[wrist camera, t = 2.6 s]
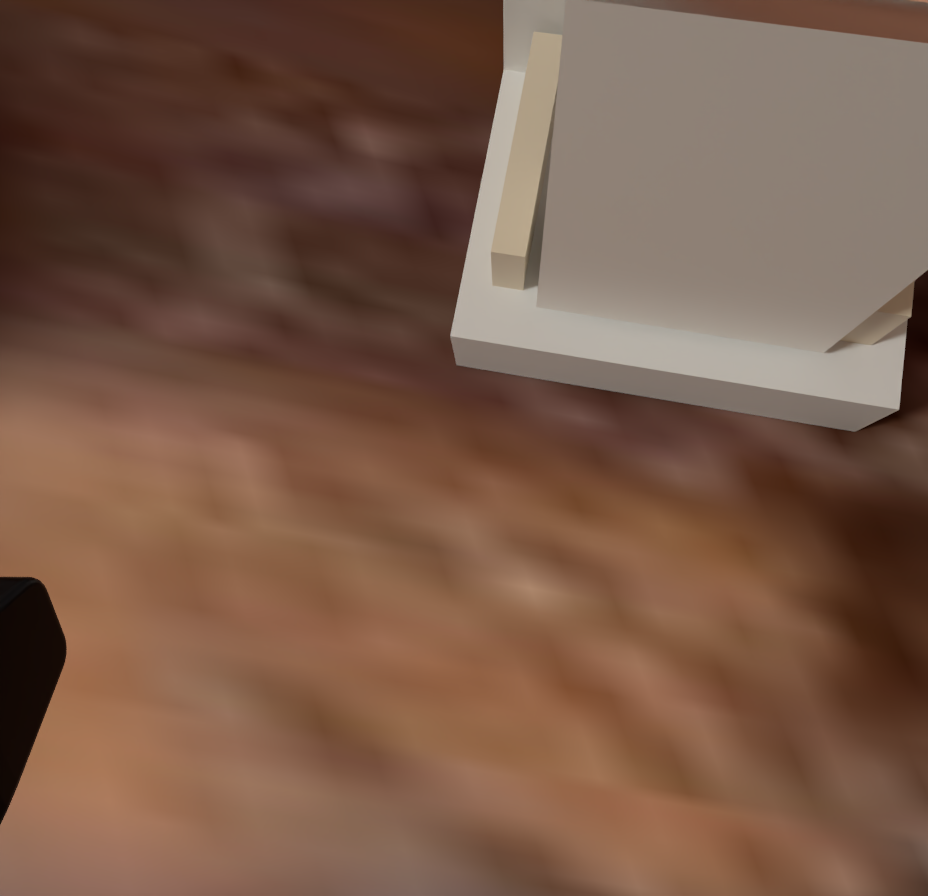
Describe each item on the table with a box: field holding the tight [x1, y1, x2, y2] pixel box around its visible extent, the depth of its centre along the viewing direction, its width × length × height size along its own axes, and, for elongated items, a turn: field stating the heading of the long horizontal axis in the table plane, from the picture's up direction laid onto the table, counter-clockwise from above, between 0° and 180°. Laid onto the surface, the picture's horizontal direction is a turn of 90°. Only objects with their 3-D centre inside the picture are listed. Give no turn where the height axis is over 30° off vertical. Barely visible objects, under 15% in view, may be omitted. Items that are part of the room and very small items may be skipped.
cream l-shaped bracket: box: [450, 0, 915, 432], centre depth 17 cm, size 9×11×13 cm
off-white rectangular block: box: [536, 0, 928, 353], centre depth 15 cm, size 2×7×11 cm, turn 79°
